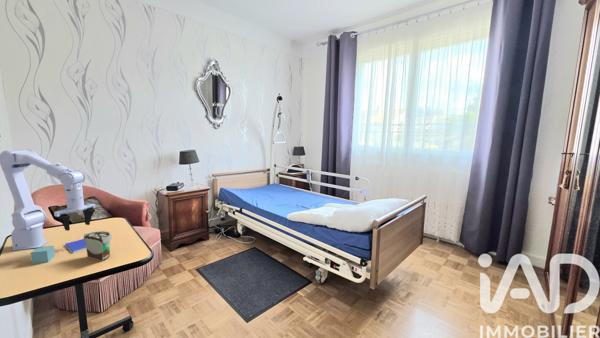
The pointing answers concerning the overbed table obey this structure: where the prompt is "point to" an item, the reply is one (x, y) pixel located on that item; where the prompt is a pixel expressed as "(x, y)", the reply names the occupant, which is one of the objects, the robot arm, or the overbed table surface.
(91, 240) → the food container
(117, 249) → the overbed table surface
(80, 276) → the overbed table surface
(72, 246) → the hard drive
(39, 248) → the cube
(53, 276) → the overbed table surface
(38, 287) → the overbed table surface
